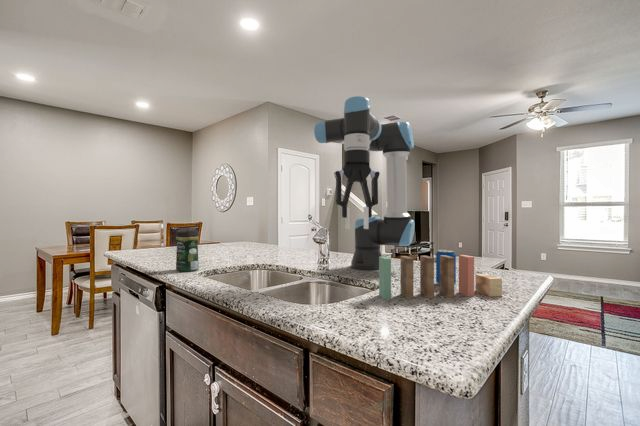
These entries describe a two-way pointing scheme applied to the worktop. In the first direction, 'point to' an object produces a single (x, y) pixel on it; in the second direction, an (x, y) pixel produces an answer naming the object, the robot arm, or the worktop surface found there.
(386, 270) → the green tile
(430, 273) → the tile
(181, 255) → the coffee jar
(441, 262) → the tile
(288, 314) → the worktop surface
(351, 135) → the robot arm
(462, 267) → the red end tile
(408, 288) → the tile
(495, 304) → the worktop surface
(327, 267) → the worktop surface
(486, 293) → the oak block
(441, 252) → the blue rectangular box
